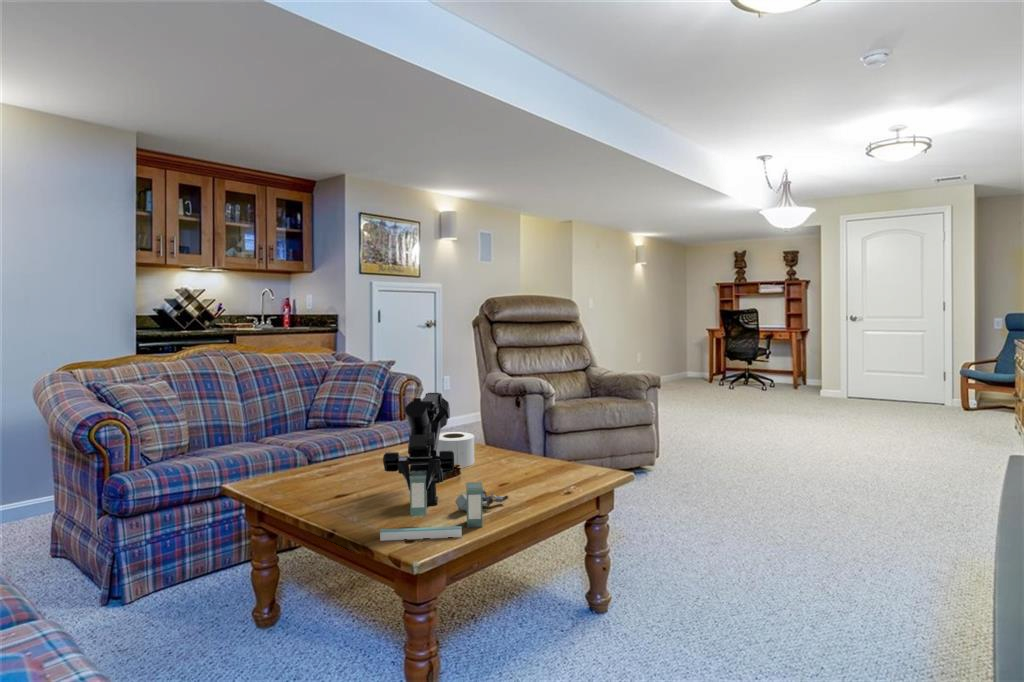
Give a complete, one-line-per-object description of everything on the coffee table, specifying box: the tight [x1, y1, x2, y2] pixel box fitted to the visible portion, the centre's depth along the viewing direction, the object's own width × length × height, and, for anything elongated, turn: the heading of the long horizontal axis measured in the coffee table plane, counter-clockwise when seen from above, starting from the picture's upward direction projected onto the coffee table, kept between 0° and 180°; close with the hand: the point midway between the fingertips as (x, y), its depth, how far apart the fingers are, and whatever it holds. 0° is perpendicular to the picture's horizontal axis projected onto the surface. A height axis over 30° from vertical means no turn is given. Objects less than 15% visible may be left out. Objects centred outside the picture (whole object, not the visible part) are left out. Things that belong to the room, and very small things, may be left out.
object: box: [436, 431, 475, 468], centre depth 218 cm, size 16×15×11 cm
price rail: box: [379, 525, 463, 542], centre depth 144 cm, size 1×20×2 cm, turn 96°
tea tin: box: [409, 470, 428, 517], centre depth 152 cm, size 5×4×10 cm
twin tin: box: [465, 481, 484, 529], centre depth 154 cm, size 5×4×10 cm
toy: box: [455, 489, 509, 513], centre depth 168 cm, size 7×11×15 cm
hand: (418, 489), depth 151 cm, fingers closed on tea tin, 4 cm apart
